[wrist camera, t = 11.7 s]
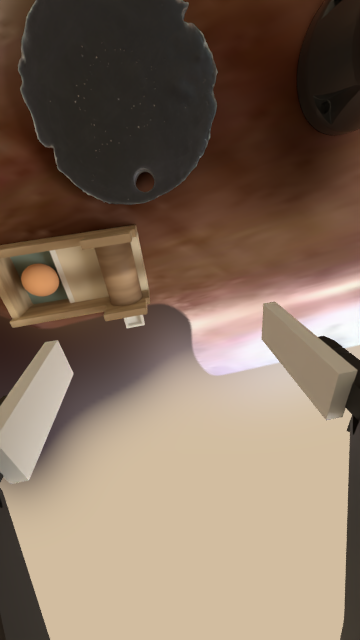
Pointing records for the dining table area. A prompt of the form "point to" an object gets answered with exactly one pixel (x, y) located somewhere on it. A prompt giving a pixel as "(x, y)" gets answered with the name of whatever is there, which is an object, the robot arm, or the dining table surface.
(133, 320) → the grey egg cup
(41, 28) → the board
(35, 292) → the ball
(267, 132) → the dining table surface
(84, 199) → the dining table surface
